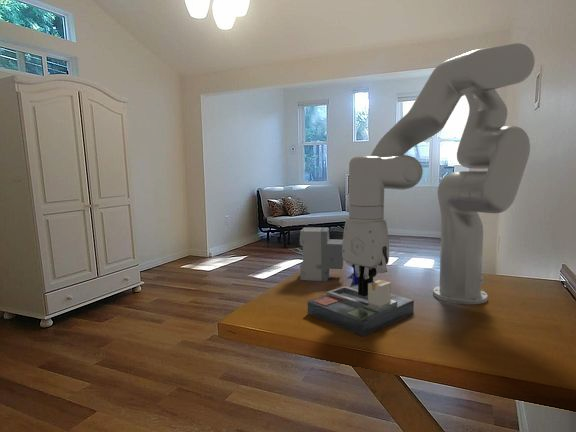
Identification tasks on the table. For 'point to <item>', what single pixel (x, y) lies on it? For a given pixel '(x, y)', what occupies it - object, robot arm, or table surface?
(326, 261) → the circuit breaker
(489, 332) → the table surface
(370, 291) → the taped parcel
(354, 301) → the panel
